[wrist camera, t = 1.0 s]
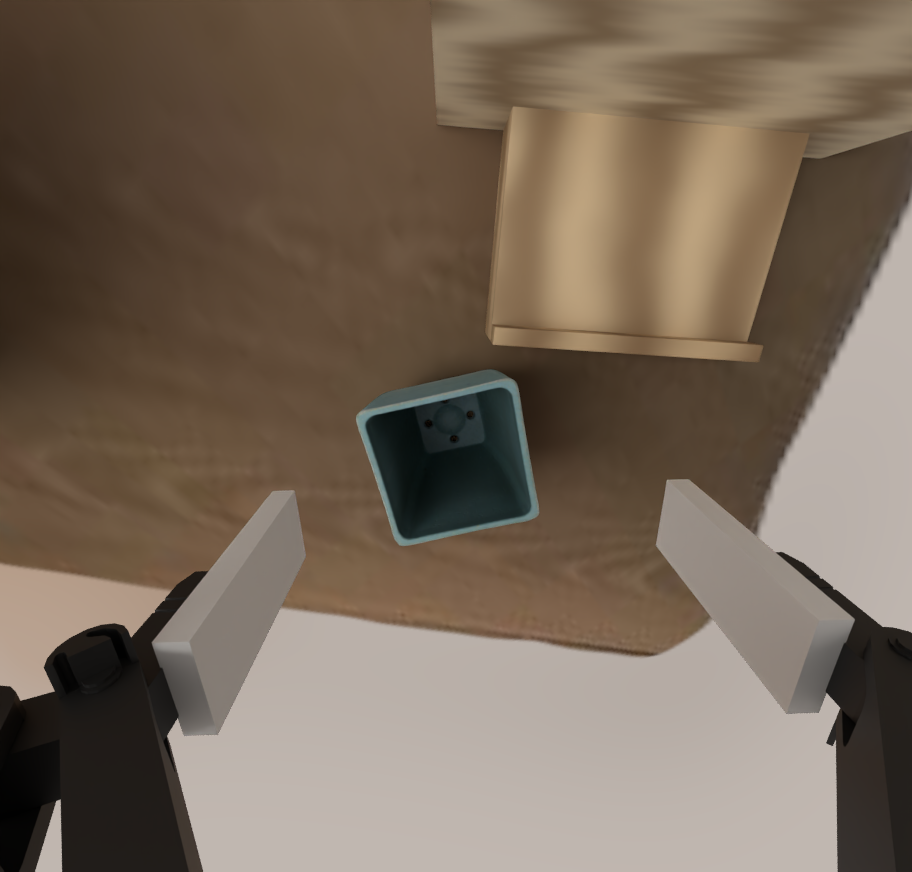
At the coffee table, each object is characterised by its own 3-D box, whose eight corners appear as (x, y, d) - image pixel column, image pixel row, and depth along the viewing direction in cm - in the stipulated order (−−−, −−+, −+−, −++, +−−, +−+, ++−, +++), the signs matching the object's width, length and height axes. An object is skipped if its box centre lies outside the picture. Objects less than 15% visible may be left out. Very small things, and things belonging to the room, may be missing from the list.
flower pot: (517, 458, 34) (541, 520, 25) (408, 481, 34) (396, 549, 26) (497, 348, 31) (516, 376, 22) (377, 375, 31) (352, 413, 23)
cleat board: (427, 328, 30) (390, 447, 9) (438, 94, 25) (408, -685, 5) (760, 351, 31) (1374, 501, 11) (829, 130, 26) (2180, -376, 6)
